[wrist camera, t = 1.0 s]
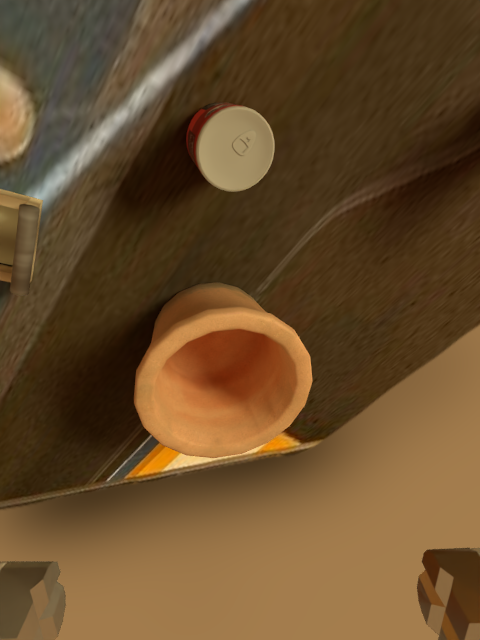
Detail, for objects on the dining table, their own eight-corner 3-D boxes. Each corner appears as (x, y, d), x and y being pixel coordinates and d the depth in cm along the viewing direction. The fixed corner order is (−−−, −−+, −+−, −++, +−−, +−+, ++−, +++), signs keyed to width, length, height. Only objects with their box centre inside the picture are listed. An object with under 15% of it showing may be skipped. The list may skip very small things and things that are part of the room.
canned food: (261, 123, 50) (290, 133, 41) (229, 184, 53) (248, 206, 44) (205, 86, 47) (222, 87, 38) (174, 153, 50) (182, 169, 41)
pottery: (235, 234, 56) (262, 276, 44) (302, 345, 68) (338, 403, 56) (102, 318, 58) (93, 381, 46) (189, 412, 70) (200, 482, 57)
